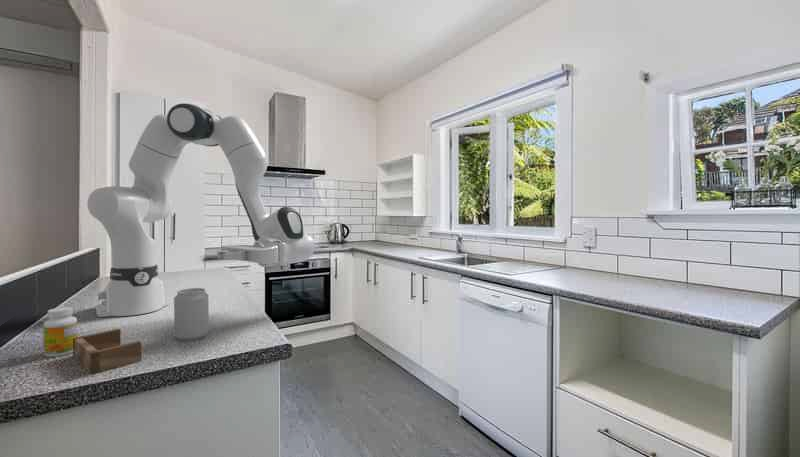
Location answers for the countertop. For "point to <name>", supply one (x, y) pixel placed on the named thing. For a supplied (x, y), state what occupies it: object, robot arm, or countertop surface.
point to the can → (191, 314)
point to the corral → (105, 351)
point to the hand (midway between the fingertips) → (221, 255)
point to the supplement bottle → (59, 332)
